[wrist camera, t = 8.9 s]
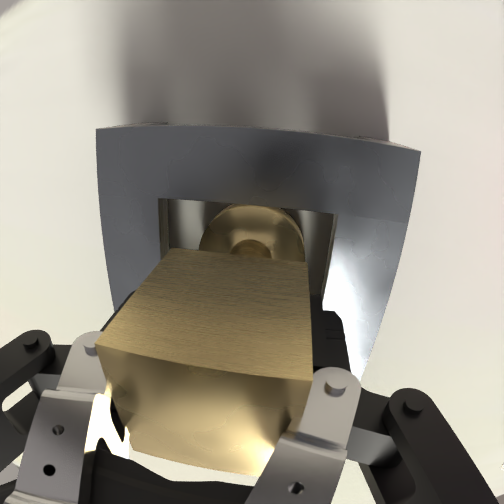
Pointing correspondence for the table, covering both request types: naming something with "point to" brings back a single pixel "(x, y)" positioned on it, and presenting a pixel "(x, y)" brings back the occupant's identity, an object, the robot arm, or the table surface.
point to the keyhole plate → (262, 203)
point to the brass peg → (216, 345)
